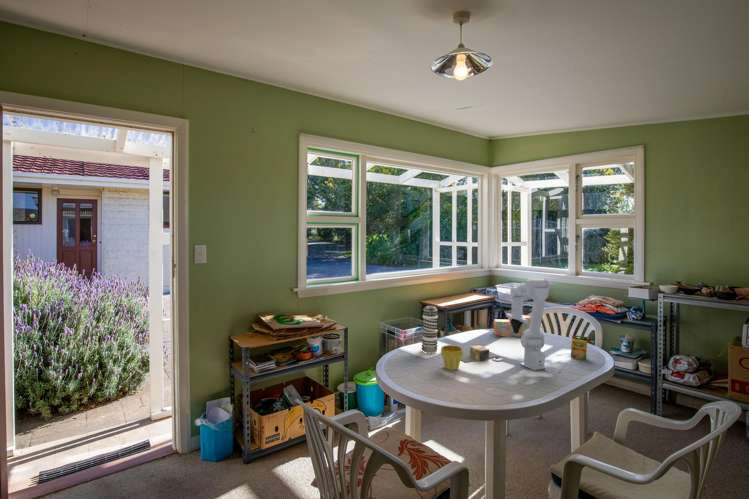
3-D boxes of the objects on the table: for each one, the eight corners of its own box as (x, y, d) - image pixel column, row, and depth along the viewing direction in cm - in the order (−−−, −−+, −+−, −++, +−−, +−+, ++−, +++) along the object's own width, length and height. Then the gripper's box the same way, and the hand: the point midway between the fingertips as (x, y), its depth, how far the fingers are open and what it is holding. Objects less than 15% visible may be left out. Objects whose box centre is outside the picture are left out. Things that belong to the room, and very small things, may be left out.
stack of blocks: (495, 336, 260) (496, 316, 259) (493, 333, 266) (493, 314, 265) (530, 337, 259) (531, 317, 258) (527, 334, 265) (528, 315, 264)
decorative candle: (429, 355, 223) (430, 309, 221) (417, 351, 230) (418, 306, 228) (441, 352, 229) (442, 307, 227) (428, 347, 236) (429, 304, 234)
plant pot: (446, 372, 200) (446, 352, 199) (437, 364, 210) (437, 345, 209) (466, 370, 202) (466, 350, 202) (456, 363, 212) (456, 344, 212)
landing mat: (499, 356, 222) (499, 356, 222) (465, 362, 213) (465, 361, 213) (478, 346, 238) (478, 346, 238) (445, 351, 229) (445, 351, 229)
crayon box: (570, 357, 222) (571, 336, 221) (570, 356, 225) (572, 334, 224) (586, 360, 218) (587, 338, 217) (586, 358, 221) (587, 336, 220)
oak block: (489, 349, 217) (479, 345, 225) (479, 350, 215) (470, 346, 222) (488, 358, 218) (479, 354, 225) (479, 360, 215) (469, 355, 223)
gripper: (532, 310, 224) (531, 335, 225) (513, 305, 237) (512, 328, 238) (522, 312, 221) (521, 337, 222) (503, 306, 234) (502, 330, 235)
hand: (516, 333), depth 230 cm, fingers closed
